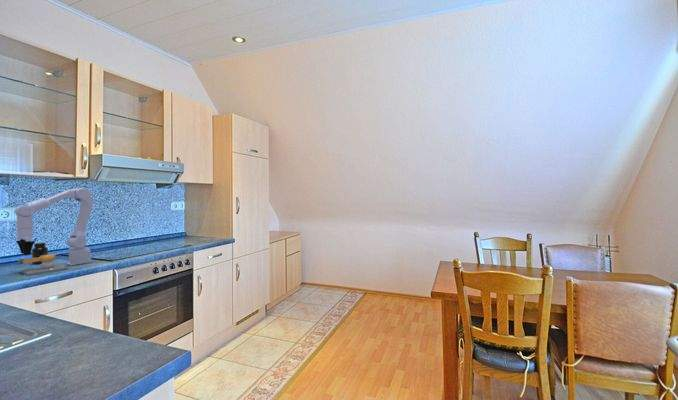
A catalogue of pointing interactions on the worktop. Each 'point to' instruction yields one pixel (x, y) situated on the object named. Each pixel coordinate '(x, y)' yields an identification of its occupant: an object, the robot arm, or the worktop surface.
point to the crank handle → (38, 259)
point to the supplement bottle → (39, 251)
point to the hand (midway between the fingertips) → (25, 254)
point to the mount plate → (44, 268)
